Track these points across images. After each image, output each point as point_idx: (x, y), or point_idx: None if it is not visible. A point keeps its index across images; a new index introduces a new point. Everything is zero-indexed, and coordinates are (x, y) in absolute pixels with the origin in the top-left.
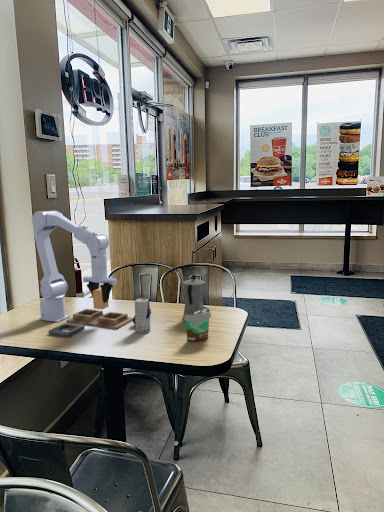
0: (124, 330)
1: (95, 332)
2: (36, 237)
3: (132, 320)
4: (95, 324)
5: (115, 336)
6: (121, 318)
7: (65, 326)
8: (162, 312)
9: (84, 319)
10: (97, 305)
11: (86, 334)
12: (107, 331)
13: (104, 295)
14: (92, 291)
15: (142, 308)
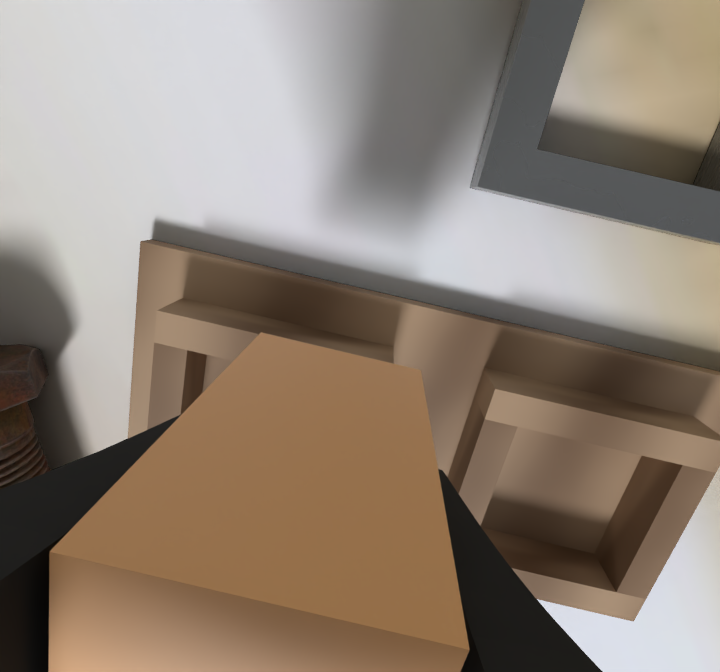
0: (75, 226)
1: (321, 121)
2: None
3: (26, 368)
4: (396, 299)
5: (68, 39)
6: (155, 405)
7: (709, 181)
8: None
9: (556, 388)
10: (341, 374)
11: (389, 40)
12: (216, 172)
13: (59, 470)
14: (486, 635)
15: None
